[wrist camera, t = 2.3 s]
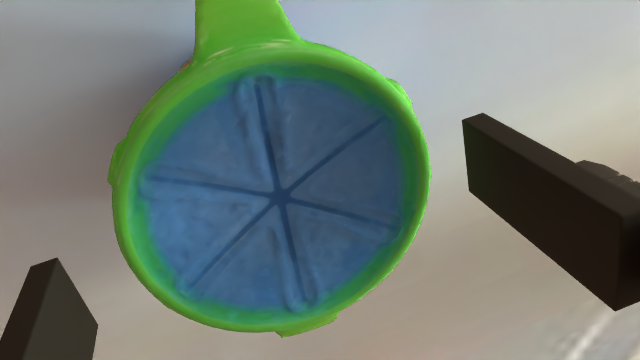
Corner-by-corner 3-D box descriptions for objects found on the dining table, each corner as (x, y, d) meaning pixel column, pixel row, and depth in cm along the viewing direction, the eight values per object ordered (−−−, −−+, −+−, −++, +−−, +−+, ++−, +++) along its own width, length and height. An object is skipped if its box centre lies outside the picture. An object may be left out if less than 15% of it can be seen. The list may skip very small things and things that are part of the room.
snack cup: (348, 227, 30) (424, 351, 21) (164, 262, 28) (162, 416, 19) (340, -67, 23) (448, -68, 14) (93, -52, 21) (35, -43, 12)
